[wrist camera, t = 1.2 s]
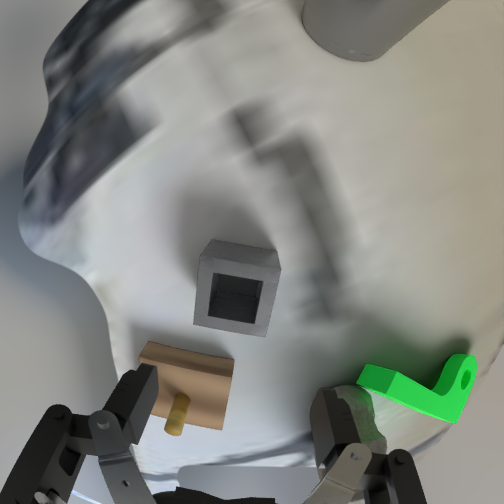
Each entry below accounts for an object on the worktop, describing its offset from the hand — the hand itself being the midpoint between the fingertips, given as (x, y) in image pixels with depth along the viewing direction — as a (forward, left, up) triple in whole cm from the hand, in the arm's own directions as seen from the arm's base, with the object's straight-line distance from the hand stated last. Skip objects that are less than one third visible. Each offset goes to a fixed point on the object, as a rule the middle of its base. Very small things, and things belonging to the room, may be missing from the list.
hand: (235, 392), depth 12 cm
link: (0, -1, -14) cm, 14 cm away
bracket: (+9, +25, -15) cm, 30 cm away
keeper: (+15, -5, -14) cm, 21 cm away
